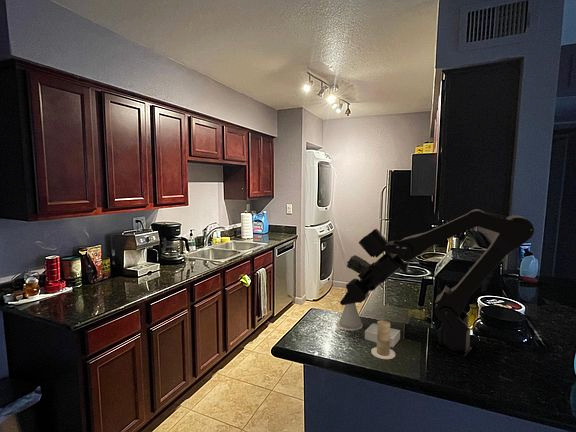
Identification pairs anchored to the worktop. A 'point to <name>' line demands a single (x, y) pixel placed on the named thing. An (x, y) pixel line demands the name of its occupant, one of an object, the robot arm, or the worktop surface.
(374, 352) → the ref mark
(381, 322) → the birch peg
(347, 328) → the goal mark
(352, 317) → the flask
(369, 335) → the grey cover
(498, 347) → the worktop surface
